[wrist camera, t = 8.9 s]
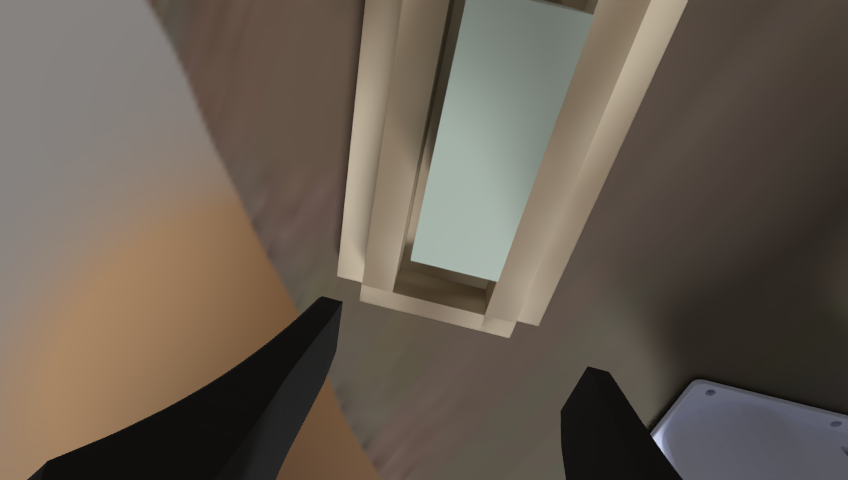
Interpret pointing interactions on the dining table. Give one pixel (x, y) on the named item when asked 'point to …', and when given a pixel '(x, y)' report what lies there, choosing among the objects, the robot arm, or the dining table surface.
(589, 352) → the dining table surface
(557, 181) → the beige rectangular tray
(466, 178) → the pale teal block
